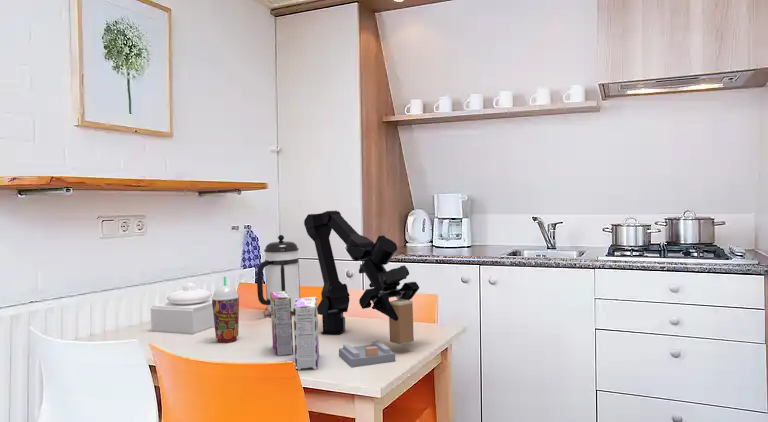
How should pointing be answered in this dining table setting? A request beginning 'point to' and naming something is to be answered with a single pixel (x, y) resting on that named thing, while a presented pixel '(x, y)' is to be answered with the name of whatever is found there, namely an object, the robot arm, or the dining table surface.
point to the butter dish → (184, 312)
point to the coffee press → (279, 271)
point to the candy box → (306, 333)
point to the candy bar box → (281, 323)
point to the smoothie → (226, 313)
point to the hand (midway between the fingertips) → (404, 318)
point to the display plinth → (365, 359)
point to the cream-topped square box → (402, 322)
